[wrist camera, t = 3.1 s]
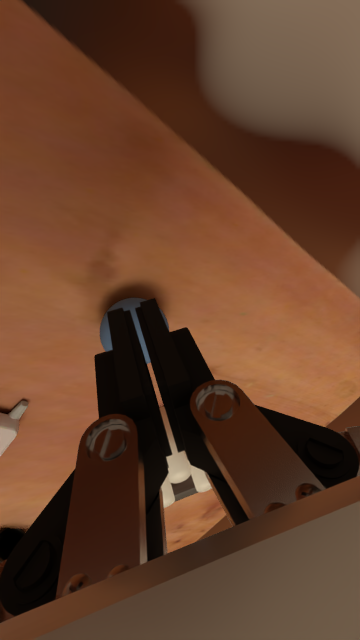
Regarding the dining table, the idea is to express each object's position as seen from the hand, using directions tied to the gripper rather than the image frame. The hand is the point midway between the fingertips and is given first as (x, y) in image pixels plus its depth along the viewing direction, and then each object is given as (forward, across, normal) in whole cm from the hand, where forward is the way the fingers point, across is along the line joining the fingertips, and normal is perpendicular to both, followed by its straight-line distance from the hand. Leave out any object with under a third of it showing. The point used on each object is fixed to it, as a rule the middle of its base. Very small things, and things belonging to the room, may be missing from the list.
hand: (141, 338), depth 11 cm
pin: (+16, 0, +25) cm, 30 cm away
